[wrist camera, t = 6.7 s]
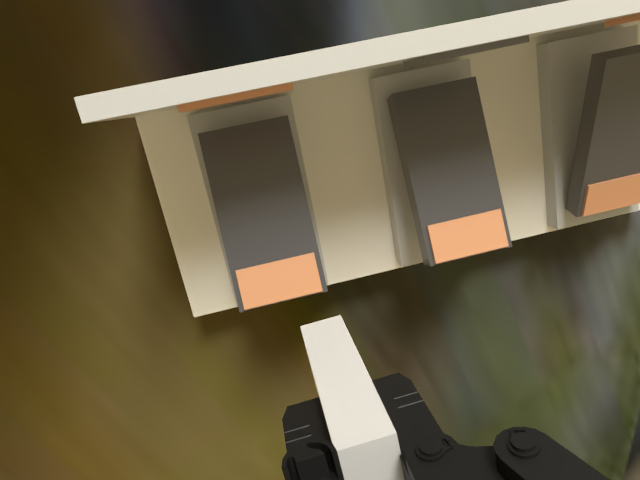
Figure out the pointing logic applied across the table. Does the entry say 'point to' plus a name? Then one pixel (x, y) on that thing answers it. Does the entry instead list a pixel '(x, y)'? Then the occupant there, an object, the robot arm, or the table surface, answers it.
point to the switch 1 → (263, 212)
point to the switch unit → (377, 132)
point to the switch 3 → (608, 136)
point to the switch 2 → (449, 171)
